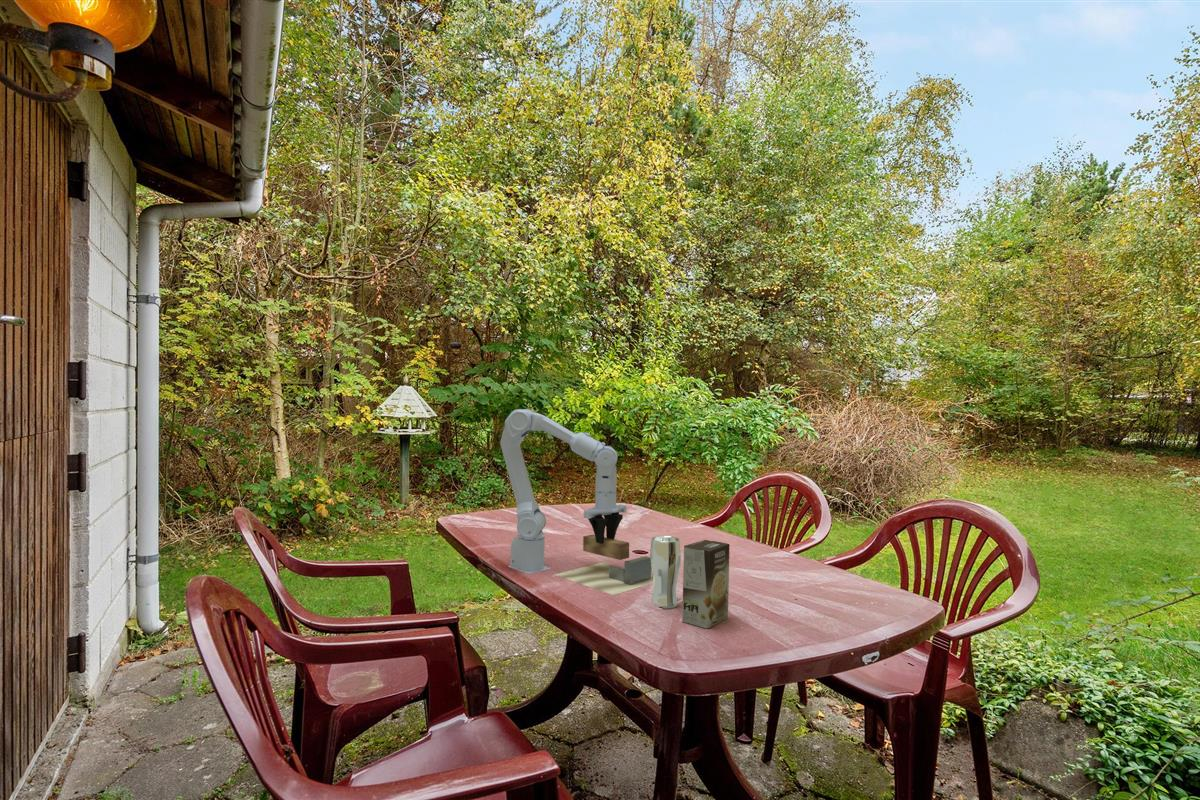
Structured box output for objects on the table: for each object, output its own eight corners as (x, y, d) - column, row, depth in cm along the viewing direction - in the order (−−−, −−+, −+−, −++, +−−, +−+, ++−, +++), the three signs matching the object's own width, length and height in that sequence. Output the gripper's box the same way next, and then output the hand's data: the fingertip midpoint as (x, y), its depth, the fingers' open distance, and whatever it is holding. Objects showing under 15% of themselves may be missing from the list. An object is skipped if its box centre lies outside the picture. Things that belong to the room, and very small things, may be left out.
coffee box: (708, 629, 119) (709, 551, 119) (681, 622, 123) (682, 545, 123) (729, 617, 126) (730, 543, 126) (702, 610, 130) (704, 538, 130)
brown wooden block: (583, 550, 161) (583, 536, 161) (592, 548, 163) (592, 534, 163) (620, 560, 151) (620, 544, 151) (629, 557, 153) (629, 542, 154)
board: (553, 576, 153) (553, 574, 153) (601, 564, 166) (602, 562, 166) (613, 597, 138) (613, 595, 138) (662, 582, 150) (662, 579, 150)
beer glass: (644, 606, 132) (645, 539, 132) (656, 597, 138) (657, 534, 138) (673, 611, 129) (674, 543, 129) (684, 602, 135) (685, 537, 135)
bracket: (607, 578, 151) (607, 556, 151) (628, 572, 157) (628, 551, 157) (630, 585, 145) (630, 563, 145) (650, 578, 151) (651, 557, 151)
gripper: (597, 495, 150) (596, 548, 149) (634, 490, 160) (634, 540, 160) (578, 492, 155) (577, 543, 154) (616, 487, 165) (615, 535, 165)
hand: (605, 541), depth 157 cm, fingers closed on brown wooden block, 3 cm apart
